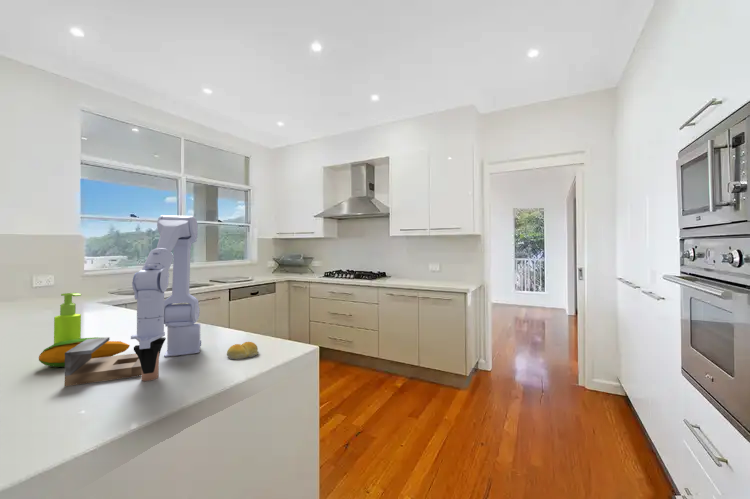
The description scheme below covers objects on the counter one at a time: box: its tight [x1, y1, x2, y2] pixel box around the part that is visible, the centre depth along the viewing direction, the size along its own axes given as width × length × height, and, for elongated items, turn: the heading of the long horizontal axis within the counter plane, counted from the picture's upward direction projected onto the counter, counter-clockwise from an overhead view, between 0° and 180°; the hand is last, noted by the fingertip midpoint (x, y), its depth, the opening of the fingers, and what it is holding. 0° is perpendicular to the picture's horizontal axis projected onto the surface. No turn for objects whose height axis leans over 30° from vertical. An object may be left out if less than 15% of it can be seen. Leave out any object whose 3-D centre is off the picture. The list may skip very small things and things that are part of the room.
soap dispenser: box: [53, 292, 82, 344], centre depth 97 cm, size 6×7×20 cm
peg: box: [140, 352, 160, 382], centre depth 81 cm, size 4×4×8 cm
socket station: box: [63, 336, 142, 387], centre depth 86 cm, size 15×14×8 cm
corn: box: [38, 336, 131, 368], centre depth 94 cm, size 7×8×20 cm
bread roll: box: [226, 341, 259, 360], centre depth 100 cm, size 8×9×4 cm
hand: (150, 370), depth 81 cm, fingers closed on peg, 4 cm apart
